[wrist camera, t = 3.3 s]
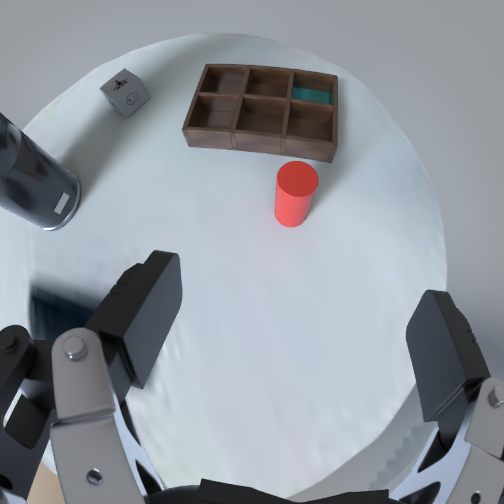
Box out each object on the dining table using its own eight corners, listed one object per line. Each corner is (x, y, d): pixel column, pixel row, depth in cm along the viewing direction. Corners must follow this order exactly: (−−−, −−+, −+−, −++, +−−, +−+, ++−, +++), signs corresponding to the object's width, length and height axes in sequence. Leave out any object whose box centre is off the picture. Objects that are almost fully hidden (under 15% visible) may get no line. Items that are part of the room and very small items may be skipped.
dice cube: (126, 119, 40) (113, 99, 35) (111, 106, 41) (99, 88, 36) (150, 98, 40) (140, 78, 36) (134, 87, 41) (124, 68, 36)
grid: (188, 146, 38) (181, 130, 34) (210, 81, 40) (206, 63, 37) (331, 163, 36) (337, 146, 32) (333, 93, 39) (337, 75, 35)
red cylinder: (272, 224, 35) (274, 194, 26) (276, 195, 36) (279, 158, 27) (304, 229, 35) (316, 200, 26) (308, 199, 35) (319, 163, 27)
